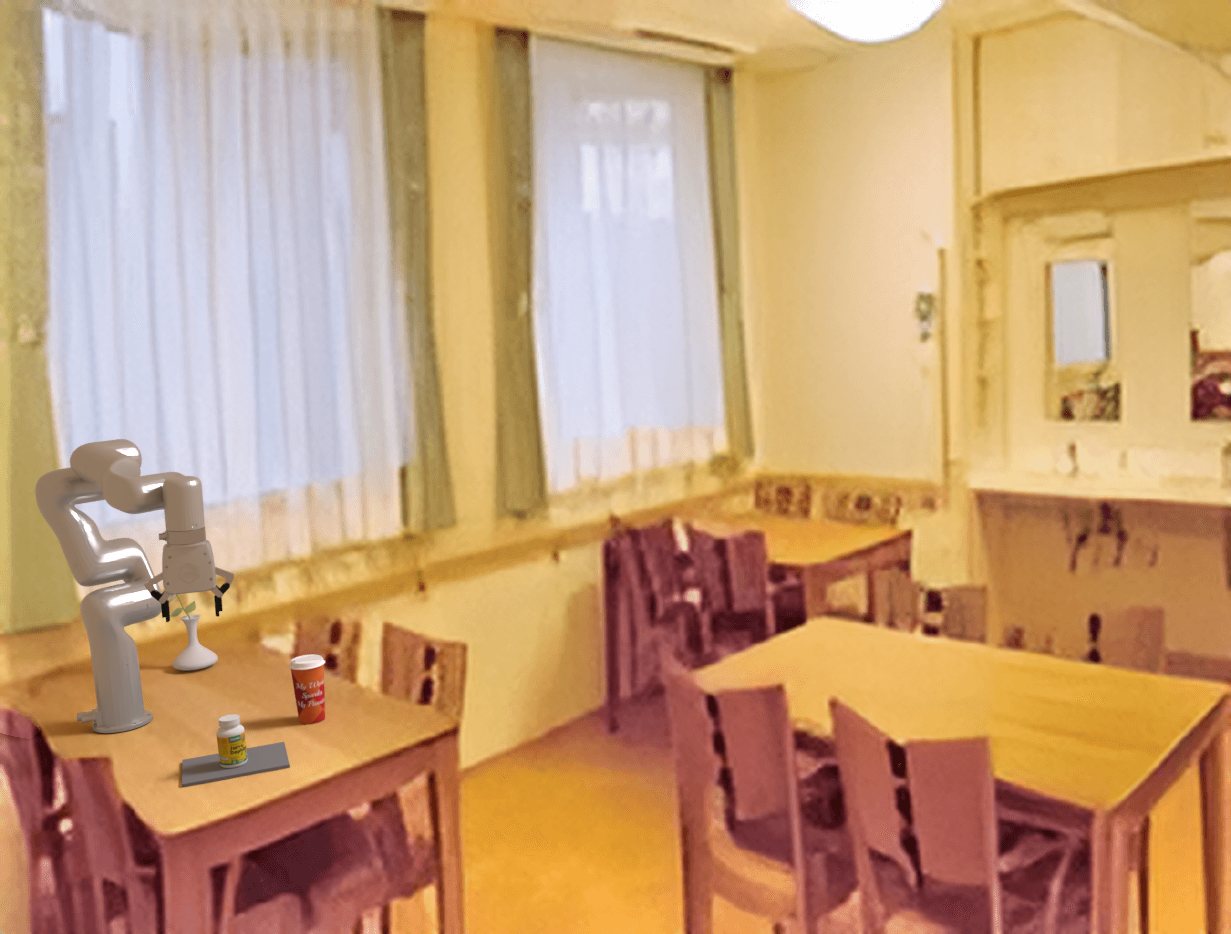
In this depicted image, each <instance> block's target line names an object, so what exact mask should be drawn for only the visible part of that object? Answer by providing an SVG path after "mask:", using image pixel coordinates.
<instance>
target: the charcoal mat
mask: <svg viewBox="0 0 1231 934" xmlns="http://www.w3.org/2000/svg"><path fill="white" fill-rule="evenodd" d="M288 756H289V755H288V752H287V747H286V743H285V741H282V742H276V743H269V744H264V745H263V744H262V745H258V746H253V747H247V757H248V760H247V762H246V763H245V764H244V765H242V766H239V767H235V768H223V767H221V766H220V760H219V752H218V753H212V754H207V755H203V756H202V755H201V756H196V757H195V756H194V757H190V758H185V759H182V761H181V764H182V765H181V788H188V787H192V786H196V785H204V784H208V783H212V782H213V783H214V782H219V781H225V780H228V779H229V780H230V779H234V778H240V777H245V776H252V775H256V774H261V773H268V772H273V771H279V770H283V769H288V768H291V766H290V760H289V757H288Z"/></svg>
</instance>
